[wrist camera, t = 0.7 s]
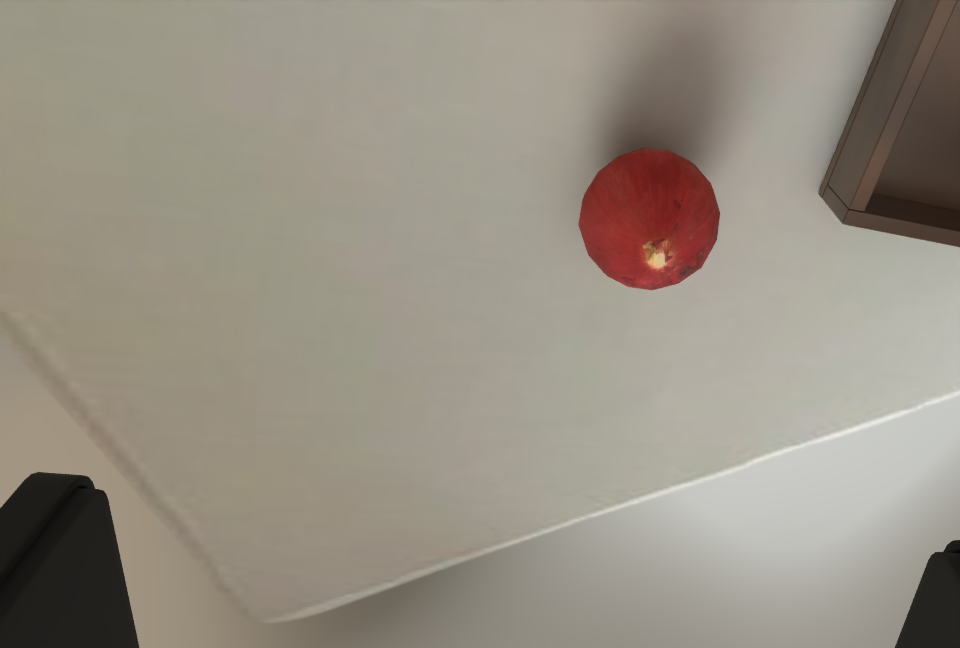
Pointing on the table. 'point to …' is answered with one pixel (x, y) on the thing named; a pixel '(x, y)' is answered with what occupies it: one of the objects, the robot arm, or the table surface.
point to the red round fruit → (649, 219)
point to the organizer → (905, 131)
